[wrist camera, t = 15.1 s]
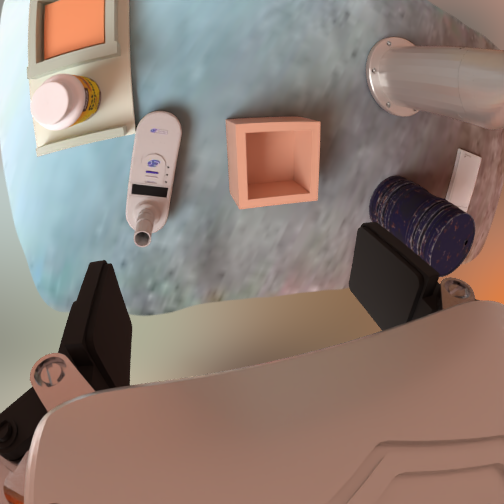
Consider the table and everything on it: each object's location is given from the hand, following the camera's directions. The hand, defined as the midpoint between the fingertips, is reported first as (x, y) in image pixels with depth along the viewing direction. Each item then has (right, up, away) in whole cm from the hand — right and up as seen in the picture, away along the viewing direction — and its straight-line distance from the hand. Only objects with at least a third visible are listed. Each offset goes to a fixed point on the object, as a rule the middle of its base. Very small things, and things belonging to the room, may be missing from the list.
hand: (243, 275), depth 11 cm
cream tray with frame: (-20, +23, +14) cm, 34 cm away
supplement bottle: (-19, +18, +17) cm, 31 cm away
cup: (+2, +13, +26) cm, 30 cm away
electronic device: (-12, +11, +24) cm, 29 cm away
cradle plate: (-20, +27, +11) cm, 35 cm away
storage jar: (+23, +9, +36) cm, 44 cm away
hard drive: (+42, +15, +38) cm, 58 cm away
